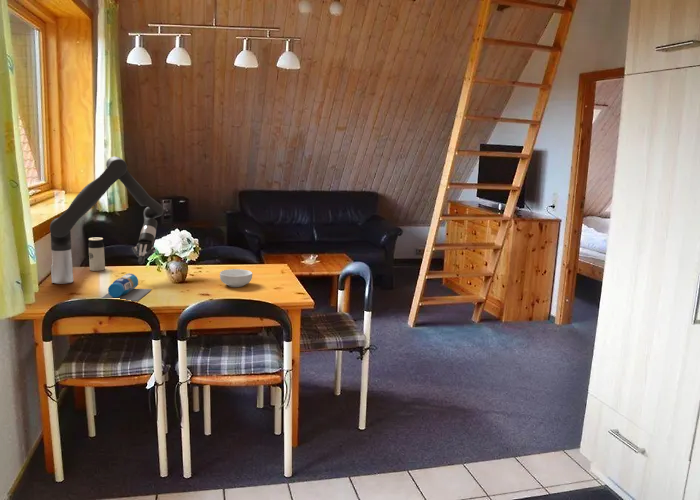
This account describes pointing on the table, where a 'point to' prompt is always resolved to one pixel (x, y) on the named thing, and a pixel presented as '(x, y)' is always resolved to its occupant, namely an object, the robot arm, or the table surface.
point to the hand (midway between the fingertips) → (140, 263)
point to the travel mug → (96, 254)
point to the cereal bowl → (236, 277)
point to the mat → (132, 294)
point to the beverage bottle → (123, 285)
